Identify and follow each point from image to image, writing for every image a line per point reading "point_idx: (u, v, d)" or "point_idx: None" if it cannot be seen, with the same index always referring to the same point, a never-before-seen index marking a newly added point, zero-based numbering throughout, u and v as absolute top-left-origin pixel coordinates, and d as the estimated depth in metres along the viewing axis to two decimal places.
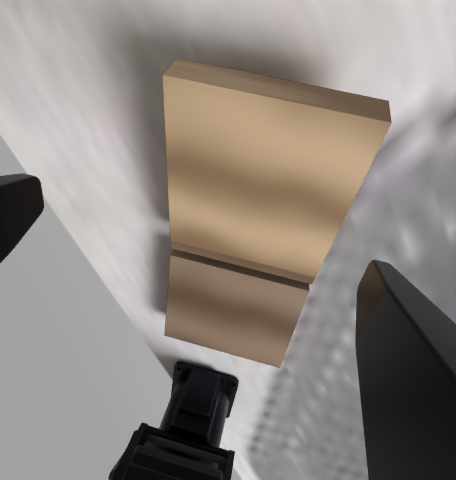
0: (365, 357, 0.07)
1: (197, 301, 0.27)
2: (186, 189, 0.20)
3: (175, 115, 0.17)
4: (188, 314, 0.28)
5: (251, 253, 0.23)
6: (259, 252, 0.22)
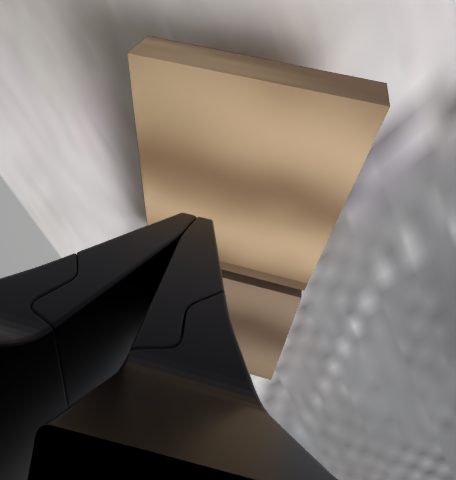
0: None
1: None
2: (162, 185, 0.18)
3: (145, 101, 0.15)
4: None
5: (237, 256, 0.21)
6: (245, 255, 0.20)
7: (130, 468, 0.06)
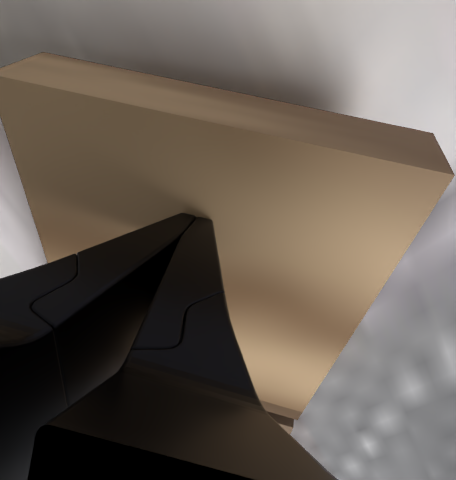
0: None
1: None
2: None
3: (31, 153, 0.09)
4: None
5: None
6: None
7: (130, 468, 0.06)
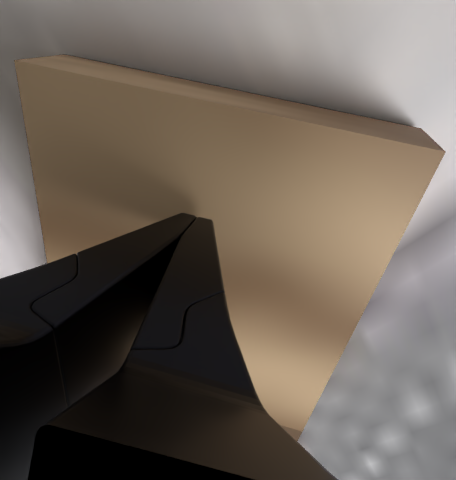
0: None
1: None
2: None
3: (46, 140, 0.09)
4: None
5: None
6: None
7: (130, 468, 0.06)
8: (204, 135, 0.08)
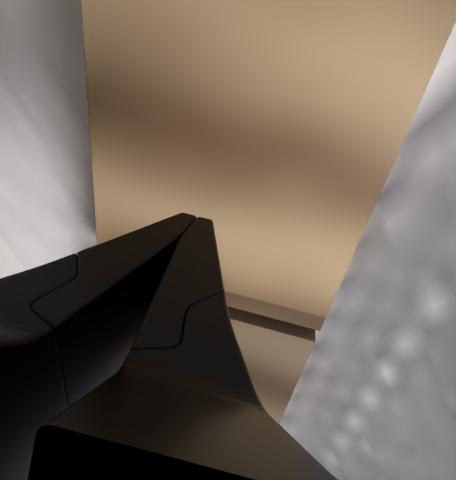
0: None
1: None
2: (120, 154, 0.12)
3: (99, 2, 0.10)
4: None
5: (224, 275, 0.14)
6: (236, 273, 0.14)
7: (130, 468, 0.06)
8: None
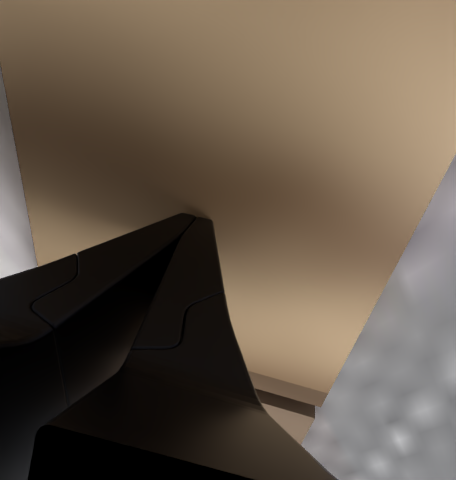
0: None
1: None
2: (60, 195, 0.09)
3: None
4: None
5: None
6: None
7: (130, 468, 0.06)
8: None
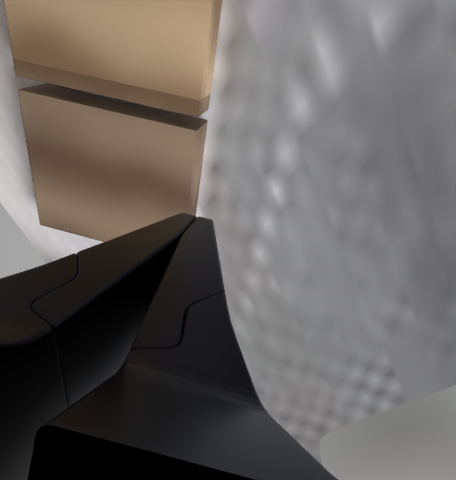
0: None
1: (66, 164, 0.21)
2: None
3: None
4: (60, 188, 0.21)
5: (114, 63, 0.17)
6: (124, 59, 0.17)
7: (130, 468, 0.06)
8: None
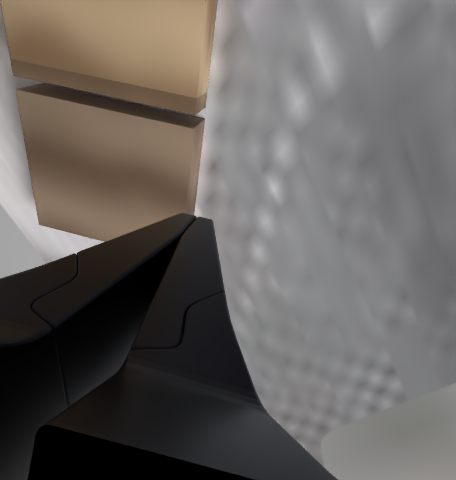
0: None
1: (64, 164, 0.21)
2: None
3: None
4: (58, 187, 0.22)
5: (111, 62, 0.17)
6: (120, 58, 0.17)
7: (130, 468, 0.06)
8: None
